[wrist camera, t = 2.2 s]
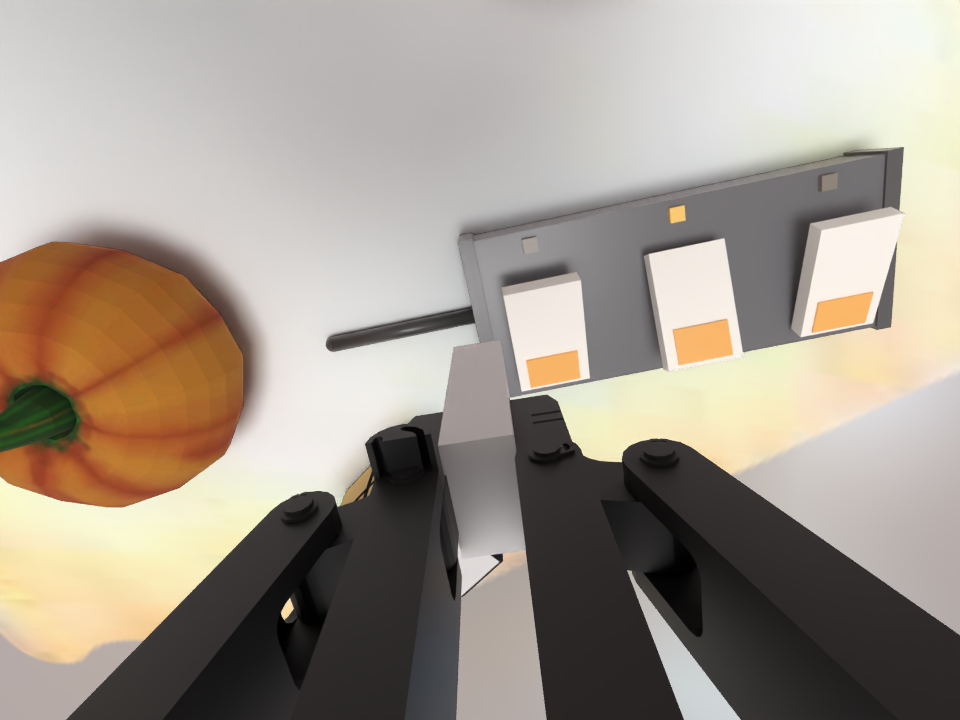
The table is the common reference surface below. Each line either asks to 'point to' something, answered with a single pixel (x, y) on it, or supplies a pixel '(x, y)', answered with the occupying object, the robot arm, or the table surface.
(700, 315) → the rocker
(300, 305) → the table surface
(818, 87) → the table surface
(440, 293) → the table surface
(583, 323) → the rocker
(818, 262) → the rocker
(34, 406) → the pumpkin
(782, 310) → the switch bank
